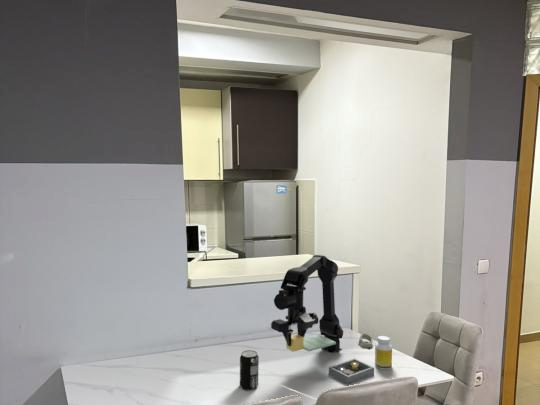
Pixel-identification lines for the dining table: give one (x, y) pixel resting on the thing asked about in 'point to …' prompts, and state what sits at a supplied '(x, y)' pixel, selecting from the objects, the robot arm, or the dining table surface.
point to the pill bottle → (383, 353)
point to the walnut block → (348, 372)
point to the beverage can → (249, 370)
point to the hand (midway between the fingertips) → (294, 344)
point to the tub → (362, 373)
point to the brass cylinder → (354, 366)
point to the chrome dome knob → (341, 369)
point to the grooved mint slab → (309, 342)
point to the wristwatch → (362, 343)
